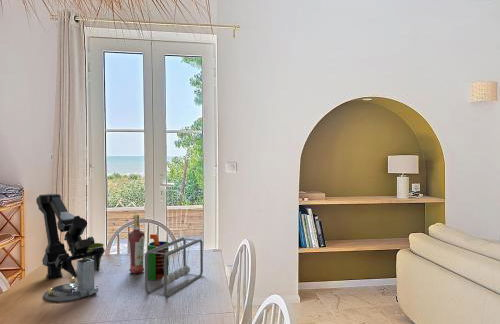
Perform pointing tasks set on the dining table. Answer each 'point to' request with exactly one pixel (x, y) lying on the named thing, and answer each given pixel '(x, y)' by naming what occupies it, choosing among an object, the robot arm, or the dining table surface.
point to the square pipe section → (85, 278)
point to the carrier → (63, 292)
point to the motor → (156, 259)
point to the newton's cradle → (179, 272)
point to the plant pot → (92, 249)
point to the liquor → (136, 247)
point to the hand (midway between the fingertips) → (87, 274)
